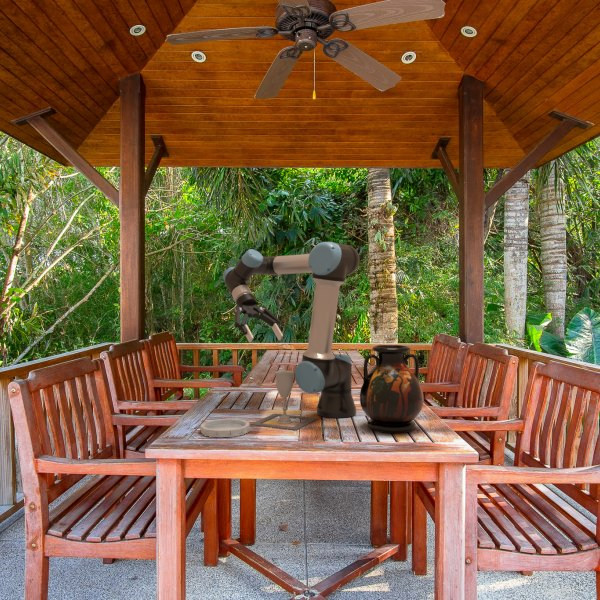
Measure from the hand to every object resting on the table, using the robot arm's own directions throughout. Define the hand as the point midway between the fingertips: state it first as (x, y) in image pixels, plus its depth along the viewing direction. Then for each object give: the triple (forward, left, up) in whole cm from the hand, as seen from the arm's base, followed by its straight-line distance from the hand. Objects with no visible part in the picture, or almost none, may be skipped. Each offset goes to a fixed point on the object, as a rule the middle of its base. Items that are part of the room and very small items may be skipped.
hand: (266, 339), depth 193 cm
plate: (+2, +25, -29) cm, 38 cm away
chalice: (-10, +5, -29) cm, 31 cm away
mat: (-10, +5, -29) cm, 31 cm away
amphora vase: (-47, -3, -29) cm, 55 cm away
